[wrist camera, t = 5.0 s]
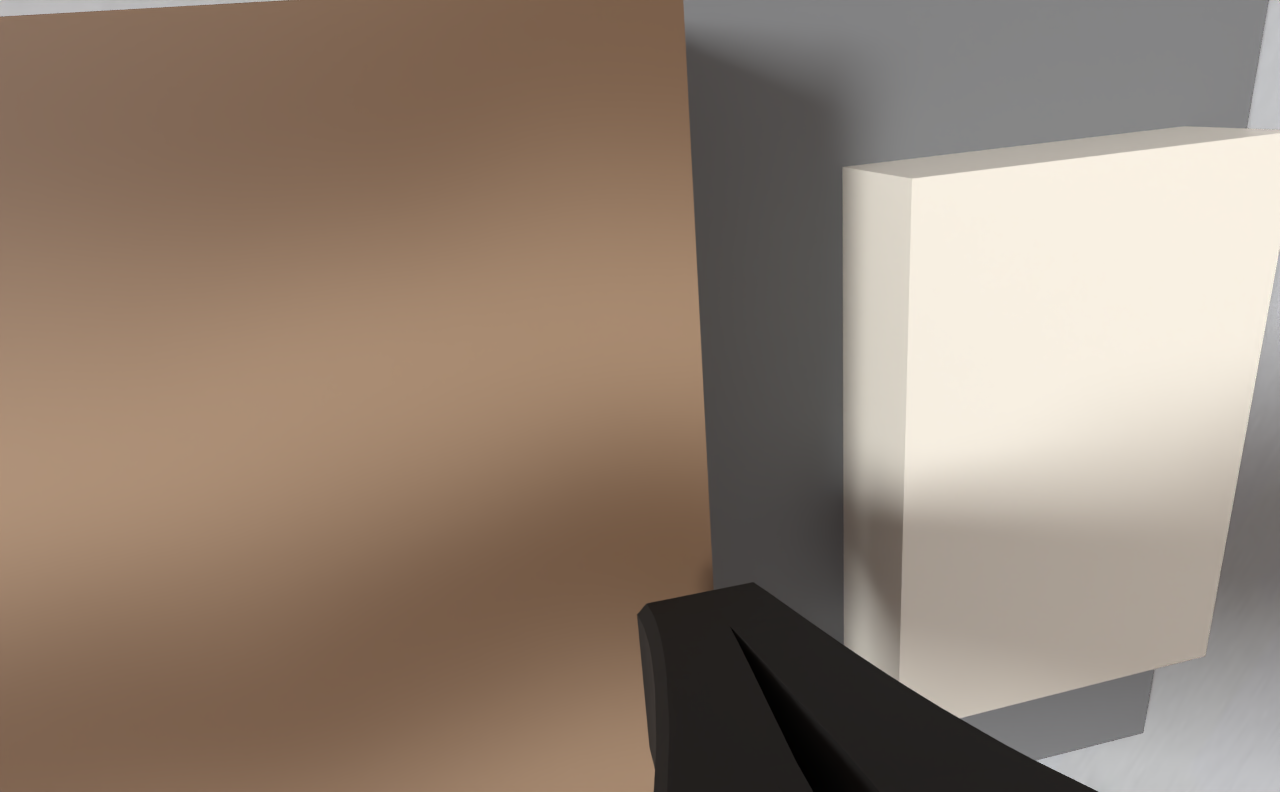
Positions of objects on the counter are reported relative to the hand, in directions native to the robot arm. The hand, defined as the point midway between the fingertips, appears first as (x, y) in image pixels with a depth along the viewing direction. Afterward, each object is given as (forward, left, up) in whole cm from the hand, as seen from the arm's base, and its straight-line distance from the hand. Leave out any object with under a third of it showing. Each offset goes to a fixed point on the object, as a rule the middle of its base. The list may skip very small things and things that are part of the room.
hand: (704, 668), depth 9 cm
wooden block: (0, +6, -5) cm, 8 cm away
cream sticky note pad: (0, -7, -3) cm, 7 cm away
